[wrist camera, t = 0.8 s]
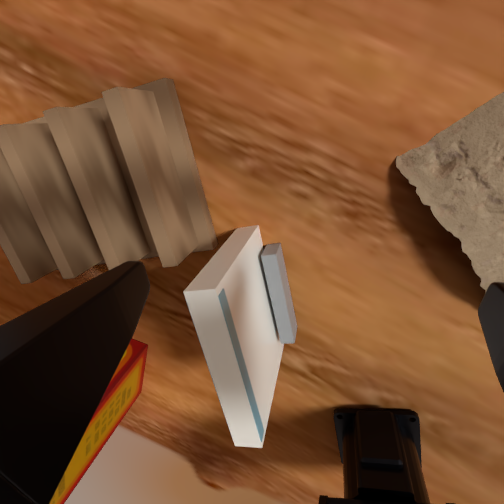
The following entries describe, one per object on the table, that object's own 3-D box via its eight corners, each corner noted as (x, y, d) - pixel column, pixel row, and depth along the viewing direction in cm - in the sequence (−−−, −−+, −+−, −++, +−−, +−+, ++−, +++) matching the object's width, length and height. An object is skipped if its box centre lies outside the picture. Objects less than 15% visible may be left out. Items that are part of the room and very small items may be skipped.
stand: (297, 326, 24) (294, 343, 22) (246, 328, 25) (239, 344, 24) (280, 242, 22) (275, 254, 20) (224, 249, 23) (215, 261, 21)
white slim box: (285, 342, 25) (263, 448, 17) (264, 342, 26) (234, 446, 18) (259, 224, 22) (216, 288, 14) (236, 228, 22) (182, 291, 14)
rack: (218, 244, 23) (194, 271, 19) (61, 265, 27) (14, 291, 23) (172, 79, 19) (130, 70, 15) (-1, 134, 24) (-70, 138, 20)
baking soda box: (59, 358, 33) (-153, 546, 18) (57, 309, 30) (-195, 487, 16) (141, 391, 32) (-16, 617, 17) (148, 344, 29) (-32, 568, 15)
